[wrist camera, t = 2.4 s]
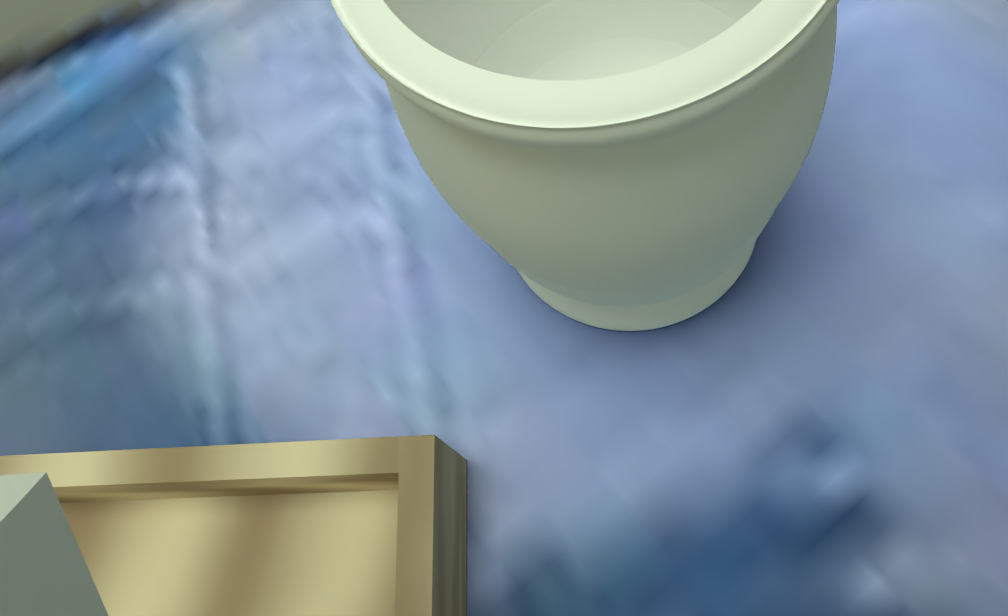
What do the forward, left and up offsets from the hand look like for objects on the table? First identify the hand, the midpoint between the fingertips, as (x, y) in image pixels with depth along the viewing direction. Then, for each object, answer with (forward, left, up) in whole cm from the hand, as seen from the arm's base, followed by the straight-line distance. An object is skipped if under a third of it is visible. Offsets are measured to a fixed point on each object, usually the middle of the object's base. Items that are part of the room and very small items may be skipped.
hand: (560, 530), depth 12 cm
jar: (0, -12, -17) cm, 21 cm away
